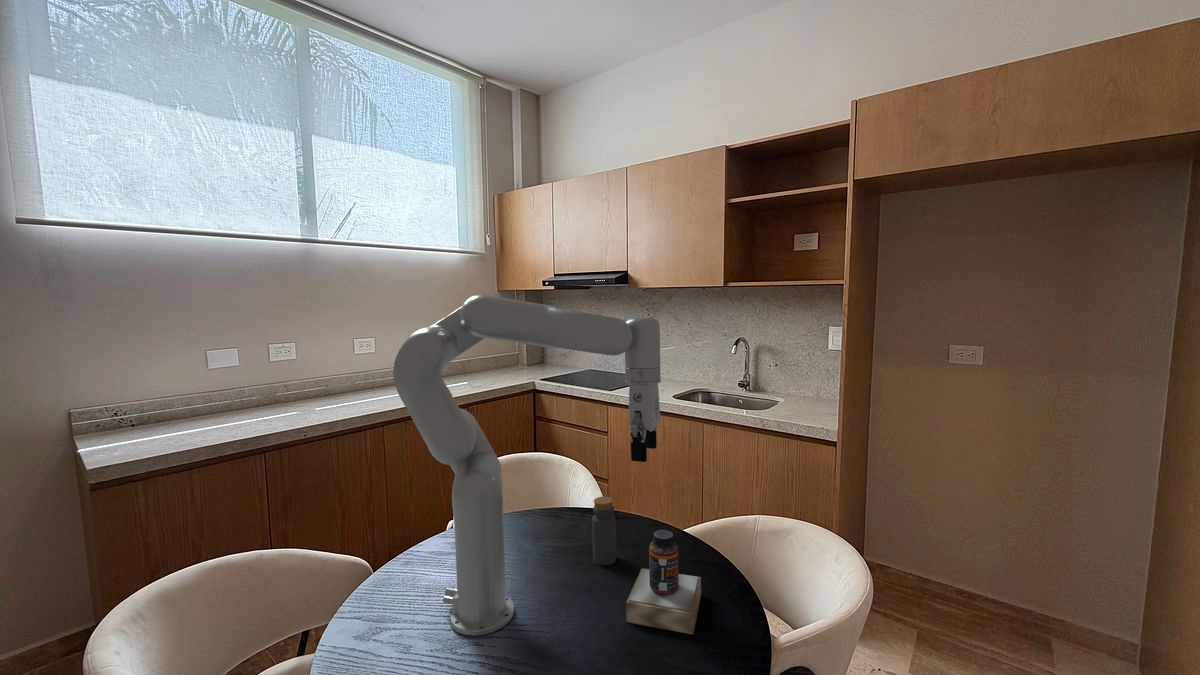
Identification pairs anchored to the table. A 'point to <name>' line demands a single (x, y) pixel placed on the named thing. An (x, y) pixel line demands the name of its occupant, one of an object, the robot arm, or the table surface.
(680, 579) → the grey square box
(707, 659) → the table surface
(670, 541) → the supplement bottle
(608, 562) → the bottle
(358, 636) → the table surface
